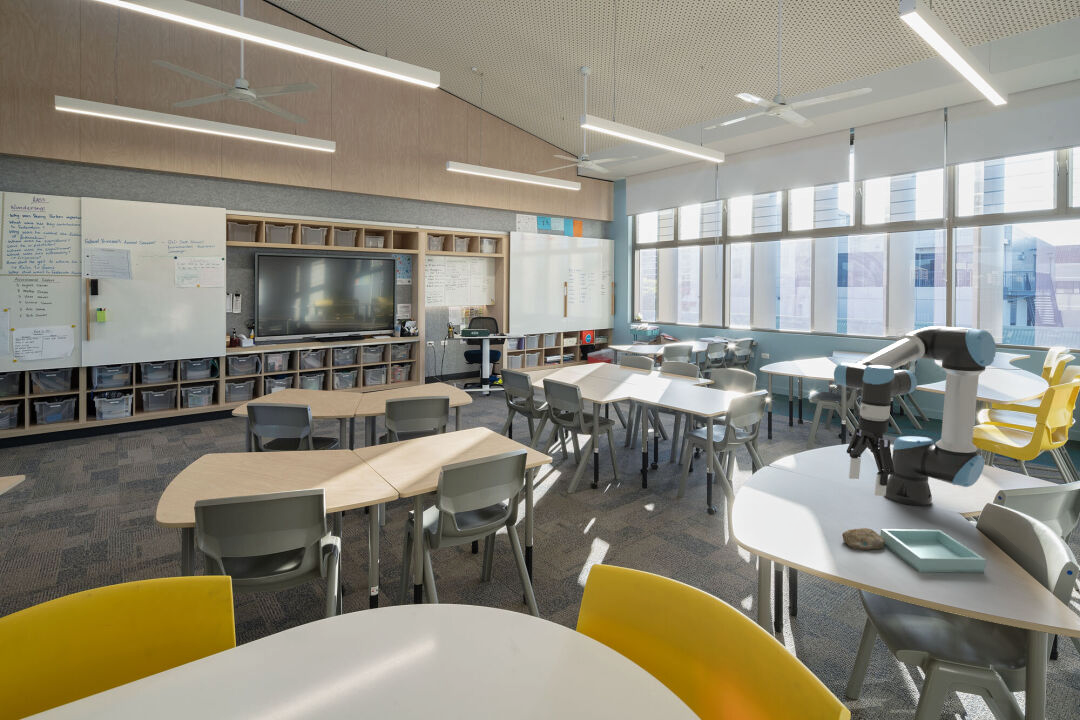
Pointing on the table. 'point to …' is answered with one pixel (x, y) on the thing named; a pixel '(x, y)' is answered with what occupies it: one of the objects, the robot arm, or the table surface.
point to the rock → (863, 539)
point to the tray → (932, 551)
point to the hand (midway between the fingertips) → (866, 486)
